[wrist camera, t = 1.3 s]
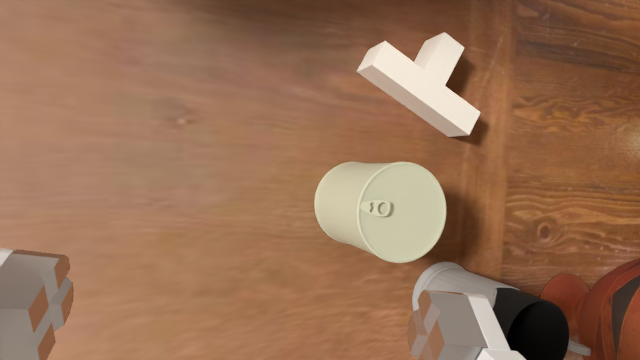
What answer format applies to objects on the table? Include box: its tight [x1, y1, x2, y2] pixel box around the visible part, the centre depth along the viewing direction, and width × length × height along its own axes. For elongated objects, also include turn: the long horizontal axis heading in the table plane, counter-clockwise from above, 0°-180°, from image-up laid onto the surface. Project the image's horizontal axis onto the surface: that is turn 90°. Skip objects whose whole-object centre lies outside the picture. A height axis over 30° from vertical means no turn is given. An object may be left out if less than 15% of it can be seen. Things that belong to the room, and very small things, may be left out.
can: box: [314, 162, 447, 263], centre depth 48 cm, size 9×9×12 cm
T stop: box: [357, 32, 481, 137], centre depth 54 cm, size 8×14×4 cm, turn 60°
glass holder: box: [412, 262, 591, 360], centre depth 51 cm, size 9×14×15 cm, turn 71°
